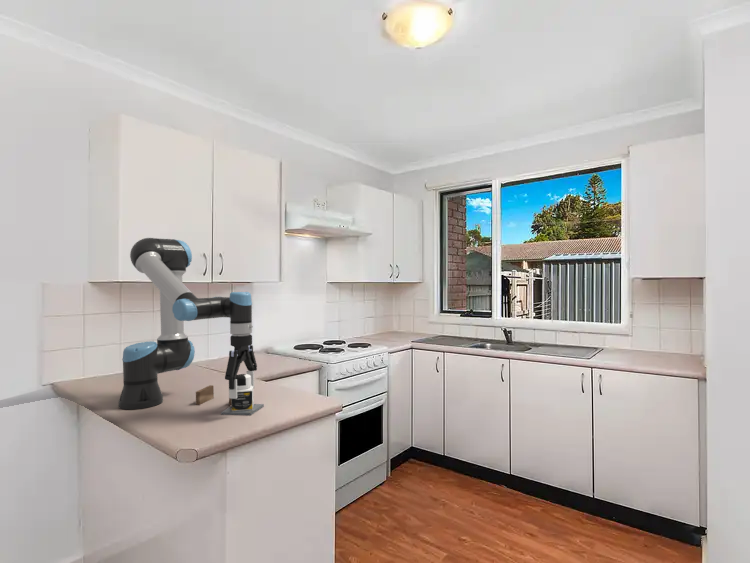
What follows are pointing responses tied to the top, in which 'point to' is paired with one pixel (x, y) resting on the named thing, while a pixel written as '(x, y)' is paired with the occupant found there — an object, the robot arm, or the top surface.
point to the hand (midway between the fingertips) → (242, 393)
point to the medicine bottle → (243, 394)
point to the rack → (206, 395)
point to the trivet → (245, 412)
